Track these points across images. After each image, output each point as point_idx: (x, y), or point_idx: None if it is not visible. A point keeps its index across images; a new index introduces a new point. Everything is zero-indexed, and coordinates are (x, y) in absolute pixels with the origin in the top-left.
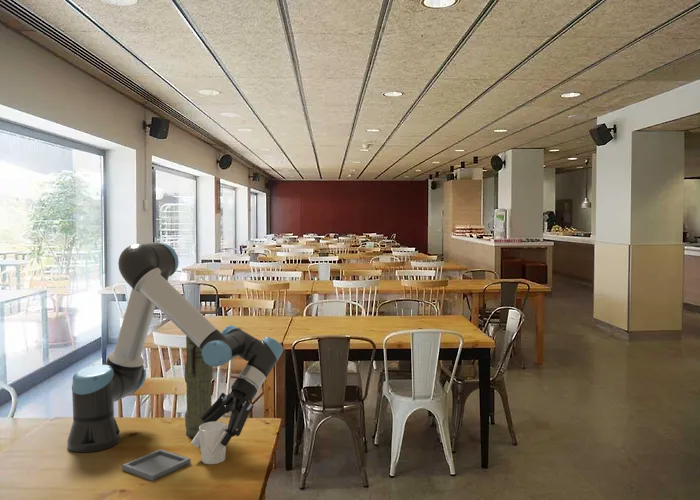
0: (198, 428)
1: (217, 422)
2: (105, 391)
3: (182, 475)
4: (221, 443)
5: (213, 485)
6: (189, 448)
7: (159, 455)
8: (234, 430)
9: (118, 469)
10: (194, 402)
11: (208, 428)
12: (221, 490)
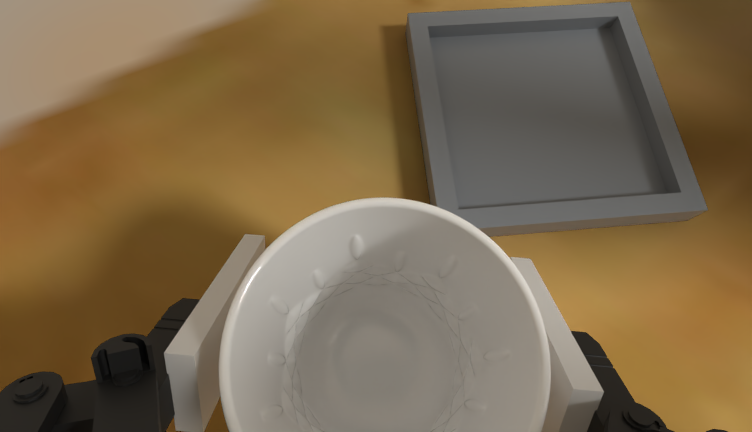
0: None
1: None
2: None
3: (347, 135)
4: (198, 300)
5: (126, 154)
6: (657, 386)
7: (647, 185)
8: (8, 390)
9: None
10: None
11: (510, 393)
12: (53, 144)
